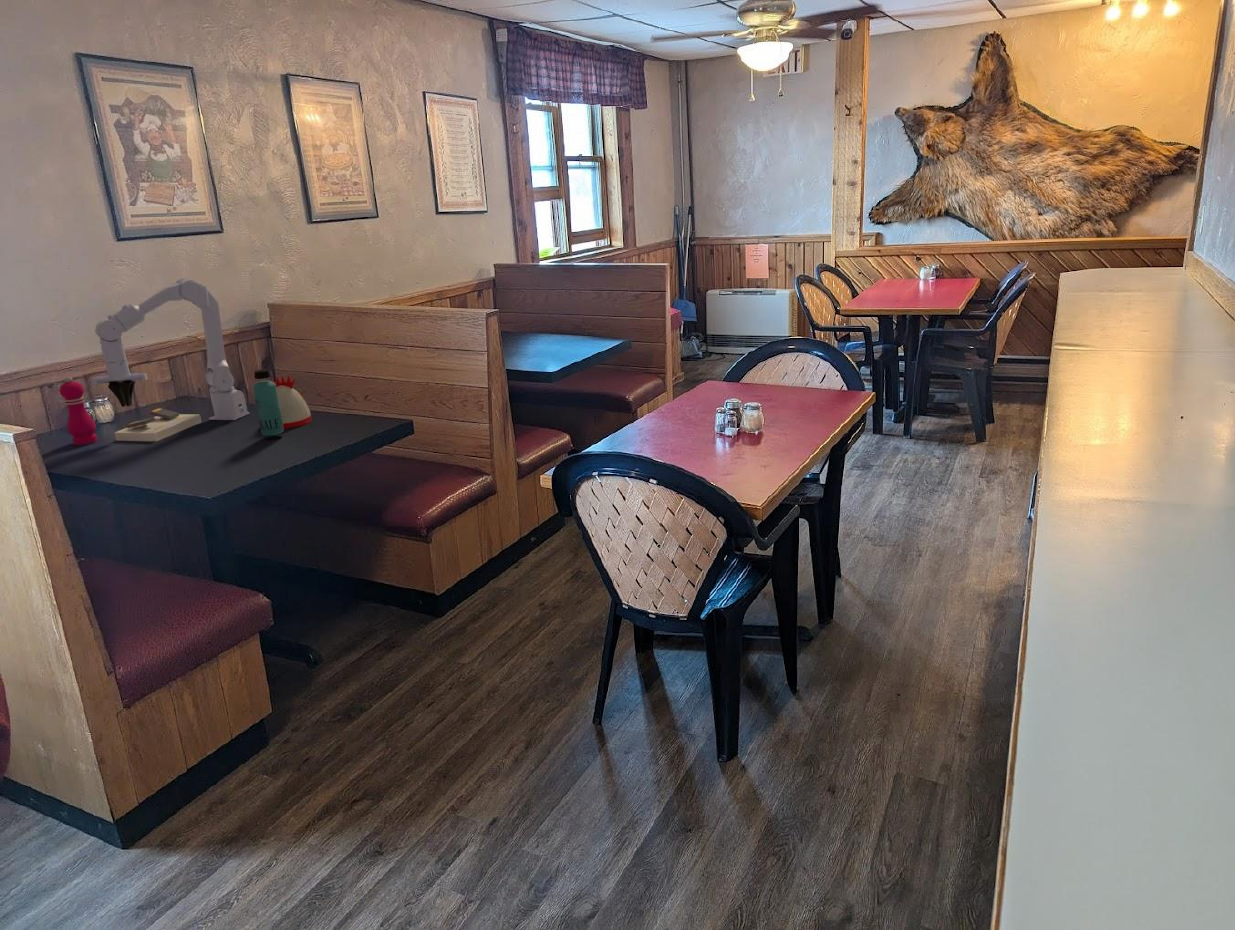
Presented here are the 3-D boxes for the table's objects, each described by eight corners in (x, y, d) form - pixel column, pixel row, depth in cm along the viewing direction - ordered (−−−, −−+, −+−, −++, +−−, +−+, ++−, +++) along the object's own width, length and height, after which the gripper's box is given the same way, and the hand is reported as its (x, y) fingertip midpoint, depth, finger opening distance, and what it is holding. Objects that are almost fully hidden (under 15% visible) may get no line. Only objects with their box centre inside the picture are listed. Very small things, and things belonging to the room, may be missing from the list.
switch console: (201, 422, 269) (199, 412, 268) (156, 441, 251) (154, 431, 250) (163, 421, 272) (161, 412, 271) (116, 440, 254) (113, 430, 253)
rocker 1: (155, 420, 257) (154, 416, 257) (146, 424, 253) (144, 420, 253) (137, 424, 259) (135, 421, 259) (127, 428, 255) (126, 425, 255)
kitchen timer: (311, 425, 259) (302, 377, 254) (262, 431, 255) (253, 382, 251) (311, 414, 272) (303, 368, 267) (265, 420, 268) (256, 373, 263)
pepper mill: (86, 446, 250) (68, 379, 243) (65, 445, 251) (47, 379, 245) (105, 438, 257) (88, 373, 250) (84, 438, 258) (67, 373, 252)
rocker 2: (178, 415, 267) (178, 412, 266) (170, 419, 263) (169, 416, 263) (159, 411, 268) (158, 407, 267) (149, 414, 264) (149, 411, 264)
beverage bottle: (278, 432, 253) (265, 366, 247) (290, 436, 249) (277, 368, 243) (257, 438, 248) (244, 371, 242) (269, 441, 244) (256, 373, 238)
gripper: (147, 356, 255) (157, 400, 260) (95, 360, 253) (106, 404, 258) (138, 361, 249) (148, 406, 253) (85, 365, 247) (96, 410, 251)
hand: (126, 405), depth 255 cm, fingers closed
